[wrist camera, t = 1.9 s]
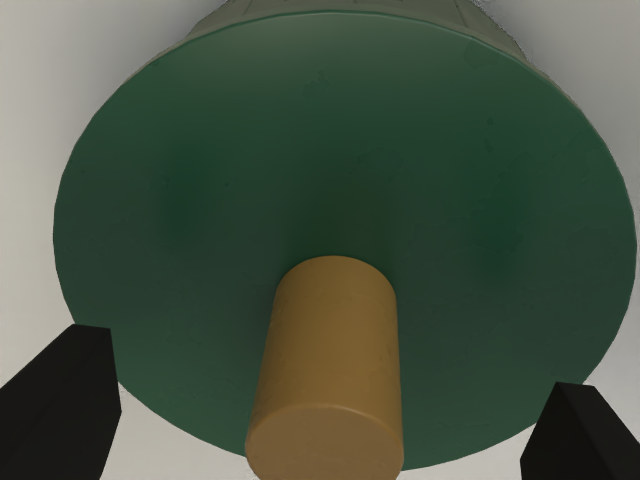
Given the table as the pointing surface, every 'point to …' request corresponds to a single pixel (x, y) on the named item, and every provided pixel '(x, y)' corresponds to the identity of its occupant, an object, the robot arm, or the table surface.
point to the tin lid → (345, 239)
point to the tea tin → (442, 3)
